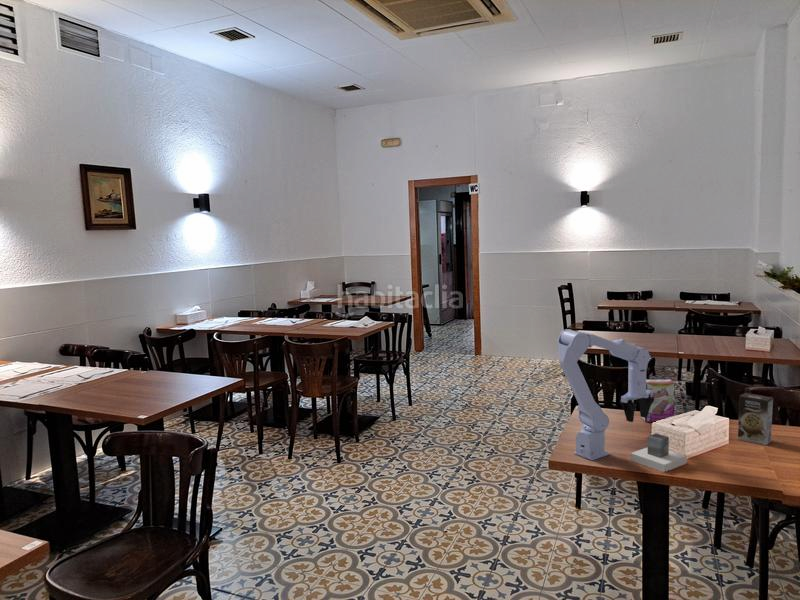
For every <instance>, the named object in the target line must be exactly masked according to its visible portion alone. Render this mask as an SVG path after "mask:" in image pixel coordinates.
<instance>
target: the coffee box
mask: <svg viewBox="0 0 800 600" xmlns="http://www.w3.org/2000/svg"><path fill="white" fill-rule="evenodd" d="M738 397H739V398H738V399H739V400H738V401H739V402H738V405H739V406H738V422H737V423H738V424H737V428H738V429H737V440H740V441H745V442H749V443H754V444H757V445H761V446H762V445H763V446H768V444H770V443H771V442H772V430H773V429H772V427H773V426H772V425H773V424H772V423H773V406H774V397H772V396H765V395H762V394H761V395H759V394H754V393H750V392H744V393H743V394H740V395H739V396H738Z"/></svg>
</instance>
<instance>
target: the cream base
mask: <svg viewBox="0 0 800 600" xmlns="http://www.w3.org/2000/svg"><path fill="white" fill-rule="evenodd" d="M687 458H688V456H687V455H685V454H681V453H679V452H676V451H672V450H669V455H667V456H664V457H662V458H658V457H656V456H653V455H650V454H648V446H647V447H644V448H641V449H639V450H635V451H633V452H631V453H630V461H631V462H634V463H637V464H640V465H643V466H646V467H649V468H650V469H653V470H656V471H659V472H661V473H666V472H668V470H669V471H672V470H674V469H675V468H679V467H681V466H684V465H686V464H687V460H688V459H687ZM665 471H666V472H665Z"/></svg>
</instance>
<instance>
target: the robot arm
mask: <svg viewBox="0 0 800 600" xmlns="http://www.w3.org/2000/svg"><path fill="white" fill-rule="evenodd" d="M556 343H557V345H558V363H559V365H560V368H561V370H562V372H563V373H564V375H565V378H566V380H567V382H568V384H569V387H570V389H571V391H572V393H573V395H574V397H575V399H576V402H577V404H578V405H577V407H576V409H577V412H578V419H579V421H580V422H581V426H582V427H581V430H580V431H578V432H577V434H576V435H575V451H574V452H573V454H575V455H578V456H580V457H582V458H585V459H587V460H590V461H594V460H598V459H601V458H604V457H607V456H609V455H611V452H610V451H606V450H605V448H606V444H605V442H606V441H605V440H606V436H605V435H606V434H605V433H606V429H607V428H608V427H609V425H610V418H609V416H608V415H607V414H606V413H605V412H603V409H602V408H601V406H600V405H599V404H598V403H597V402H596V401H595V399H594V397H593V395H592V393H591V390H590V387H589V386H588V383H587V381H586V379H585V377H584V375H583V372H582V371H581V368H580V366H579V364H578V361H579V360H580V358H581V357H582V356H583V355H584V353H585V352H586V351H587V350H588V349H591V348H593V346H595V347H598V348H601V349H605V350H608V351H609V353H610V355H611V356H613V357H616V358H620V359H622V360H625V361H627V362H628V375H627V377H628V378H627V379H628V381H627V382H628V383H627V384H628V388H627V389H628V390H627V392H626V393H625V394H624V395H621V396H620V400H619V404H620V406H621V408H622V409H623V411H624V416H625V419H626V421H627V422H630V423H633V422H634V419H635V411H636V408H637V406H638V405H639V413H640V417H641V418H642V417H644V418H647V416H648V412H649V409H650V407H651V405H652V403H653V401H654V398H653V397H651V396H653V391H652V390H646V380H647V369H648V364H649V362H650V360H651V357H652V355H650V353H649V351H648V349H646V348H645V347H640V346H637V344H636V343H629V342H626V339H623V338H619V339H614V340H613V341H611V340H609V339H606V338H604V337H601V336H599V335H597V334H594V333H590V332H585V331H579V330H573V329H569V328H566V329H563V330H562V331H561V332H560V334H559V336H558V337H557V341H556ZM635 400H636V401H637V400H638V404H637V403H635V402H633V401H635Z"/></svg>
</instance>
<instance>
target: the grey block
mask: <svg viewBox="0 0 800 600" xmlns="http://www.w3.org/2000/svg"><path fill="white" fill-rule="evenodd" d="M669 442H670V438H669V436H666V435H663V434H660V433H657V432H656V433H653V434H651V435H648V436H647V447H648V454H650V455H653V456H656V457H658V458H662V457H664V456H667V455H669V451H670V449H669V447H670V446H669V444H670V443H669Z"/></svg>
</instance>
